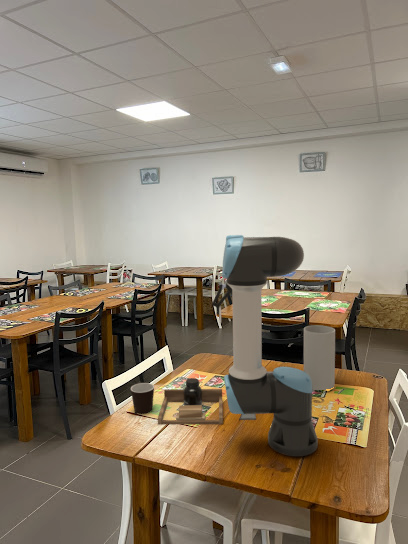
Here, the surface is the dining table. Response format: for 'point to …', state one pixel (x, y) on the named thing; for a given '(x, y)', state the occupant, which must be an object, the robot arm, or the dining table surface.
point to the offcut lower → (191, 418)
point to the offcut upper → (190, 411)
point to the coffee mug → (142, 397)
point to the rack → (178, 396)
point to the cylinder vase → (320, 356)
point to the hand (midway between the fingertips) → (236, 321)
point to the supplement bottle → (192, 392)
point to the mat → (247, 417)
